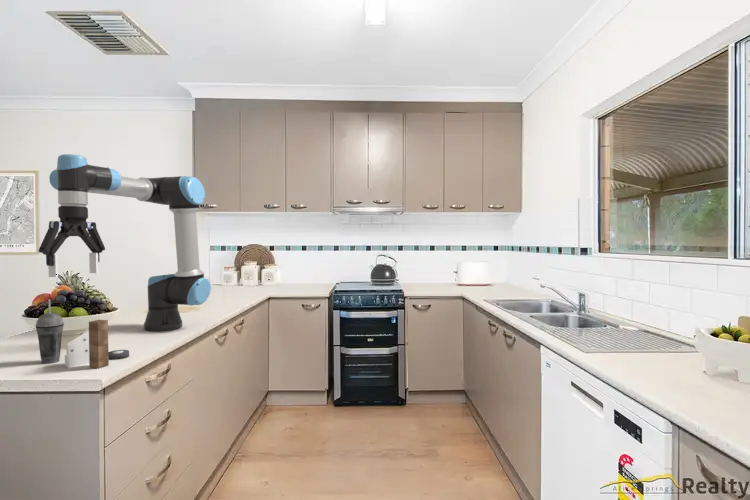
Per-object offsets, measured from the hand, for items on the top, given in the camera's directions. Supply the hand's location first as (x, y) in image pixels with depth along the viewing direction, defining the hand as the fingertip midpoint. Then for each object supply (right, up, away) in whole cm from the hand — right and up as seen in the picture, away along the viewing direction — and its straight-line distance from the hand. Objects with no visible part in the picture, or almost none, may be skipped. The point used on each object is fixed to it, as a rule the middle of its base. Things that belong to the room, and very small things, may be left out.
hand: (74, 275), depth 135 cm
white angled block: (0, -28, +1) cm, 28 cm away
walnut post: (+9, -28, -2) cm, 29 cm away
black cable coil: (+8, -28, +9) cm, 30 cm away
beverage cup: (-10, -28, +3) cm, 30 cm away
